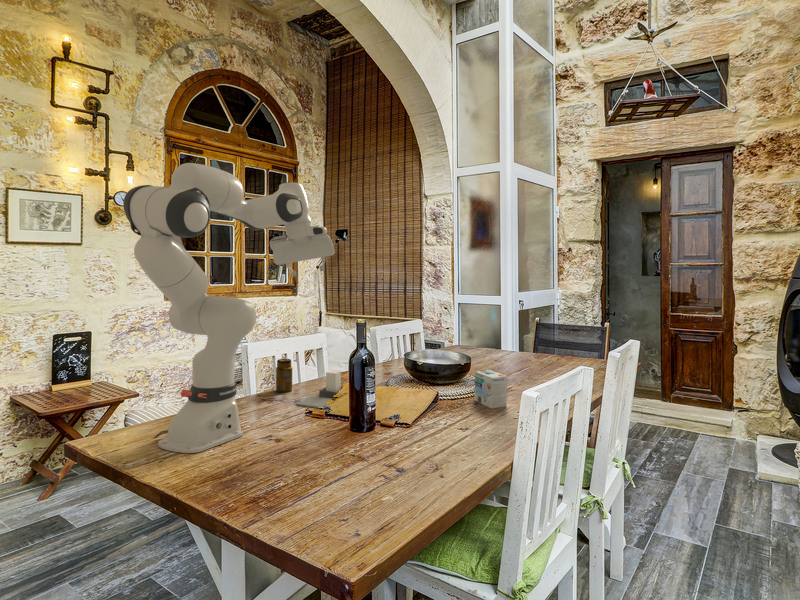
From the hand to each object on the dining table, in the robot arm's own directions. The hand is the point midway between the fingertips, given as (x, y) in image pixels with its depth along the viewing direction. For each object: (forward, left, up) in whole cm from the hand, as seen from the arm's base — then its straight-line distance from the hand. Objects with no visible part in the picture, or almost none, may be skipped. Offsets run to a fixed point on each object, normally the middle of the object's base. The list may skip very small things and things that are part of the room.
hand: (308, 273), depth 160 cm
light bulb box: (+27, -57, -45) cm, 78 cm away
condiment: (+11, +18, -45) cm, 50 cm away
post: (+15, -1, -45) cm, 48 cm away
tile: (+3, -1, -45) cm, 45 cm away
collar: (+15, -1, -45) cm, 48 cm away
